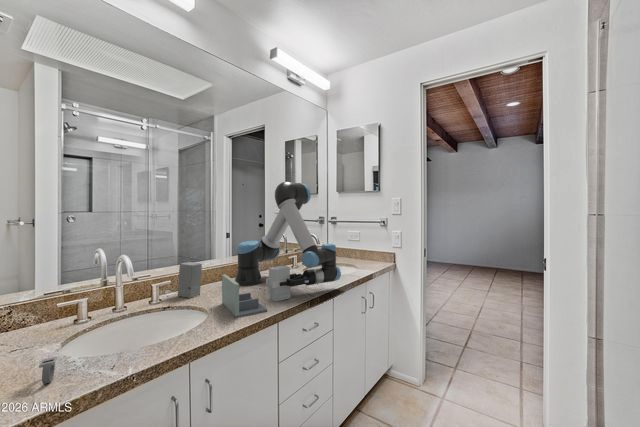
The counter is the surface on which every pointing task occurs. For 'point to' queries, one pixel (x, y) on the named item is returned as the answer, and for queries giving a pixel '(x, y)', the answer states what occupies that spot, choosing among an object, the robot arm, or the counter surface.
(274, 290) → the skincare box
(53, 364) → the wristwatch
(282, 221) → the robot arm
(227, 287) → the holder
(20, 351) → the counter surface
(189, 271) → the skincare box
